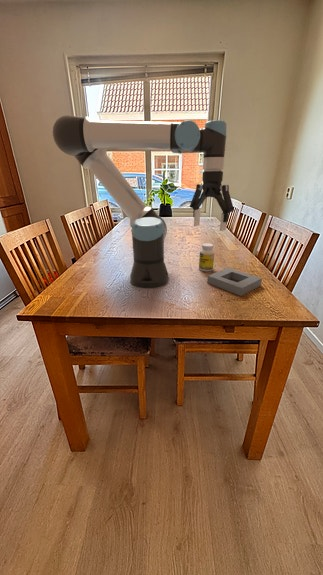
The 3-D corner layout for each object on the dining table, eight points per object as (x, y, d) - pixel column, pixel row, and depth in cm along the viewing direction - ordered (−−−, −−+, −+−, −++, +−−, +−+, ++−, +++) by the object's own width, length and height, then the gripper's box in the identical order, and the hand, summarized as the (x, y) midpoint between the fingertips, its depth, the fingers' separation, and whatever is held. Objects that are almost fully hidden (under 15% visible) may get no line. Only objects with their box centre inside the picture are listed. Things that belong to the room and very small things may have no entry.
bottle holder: (240, 296, 85) (242, 288, 84) (207, 282, 96) (207, 275, 95) (260, 285, 93) (262, 278, 92) (227, 274, 103) (228, 267, 102)
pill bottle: (196, 269, 109) (197, 244, 104) (203, 265, 113) (205, 242, 108) (207, 272, 105) (209, 247, 101) (215, 269, 109) (217, 244, 105)
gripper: (248, 170, 86) (240, 231, 95) (195, 170, 103) (192, 222, 112) (235, 170, 82) (229, 234, 91) (182, 171, 99) (181, 224, 108)
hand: (209, 228), depth 102 cm, fingers open, 13 cm apart
